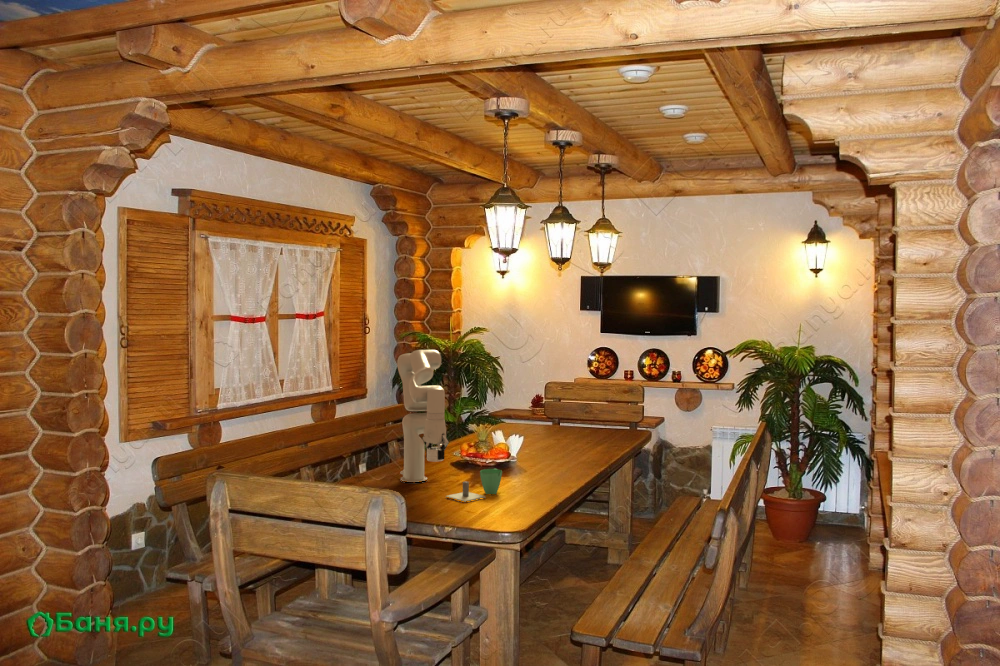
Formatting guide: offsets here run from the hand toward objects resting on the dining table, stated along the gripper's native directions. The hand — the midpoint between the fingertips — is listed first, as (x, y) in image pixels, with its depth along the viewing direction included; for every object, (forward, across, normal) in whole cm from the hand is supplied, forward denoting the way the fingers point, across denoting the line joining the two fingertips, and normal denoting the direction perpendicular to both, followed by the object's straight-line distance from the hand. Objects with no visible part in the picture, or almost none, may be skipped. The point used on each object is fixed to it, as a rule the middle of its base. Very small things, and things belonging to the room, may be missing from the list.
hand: (435, 457), depth 352 cm
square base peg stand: (+18, +8, +10) cm, 22 cm away
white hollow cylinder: (+1, 0, 0) cm, 1 cm away
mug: (+18, +8, +26) cm, 33 cm away
